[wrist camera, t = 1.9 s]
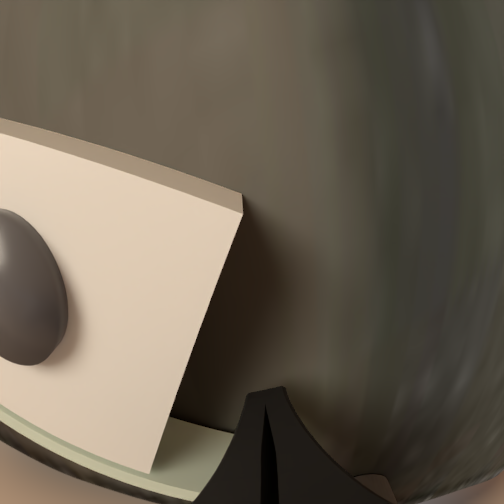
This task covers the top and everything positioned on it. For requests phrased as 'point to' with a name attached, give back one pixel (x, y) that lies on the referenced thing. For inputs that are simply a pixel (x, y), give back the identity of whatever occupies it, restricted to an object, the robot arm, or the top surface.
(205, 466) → the cream flat bar
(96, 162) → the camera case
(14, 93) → the top surface
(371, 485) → the bottle
